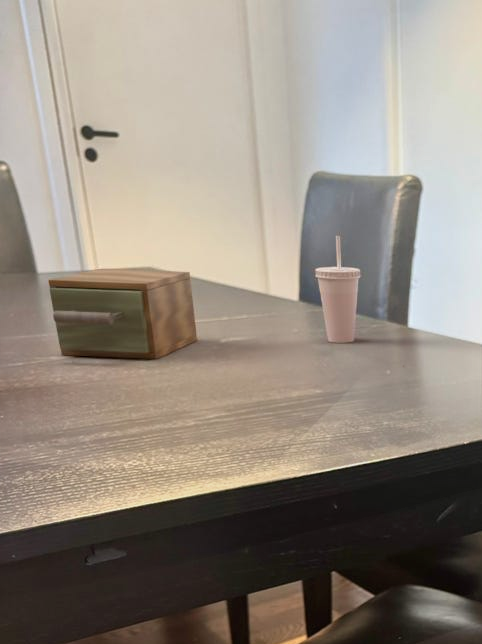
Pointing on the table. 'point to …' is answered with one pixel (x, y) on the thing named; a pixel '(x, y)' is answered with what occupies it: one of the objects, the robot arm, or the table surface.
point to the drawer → (100, 319)
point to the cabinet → (146, 306)
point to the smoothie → (339, 299)
